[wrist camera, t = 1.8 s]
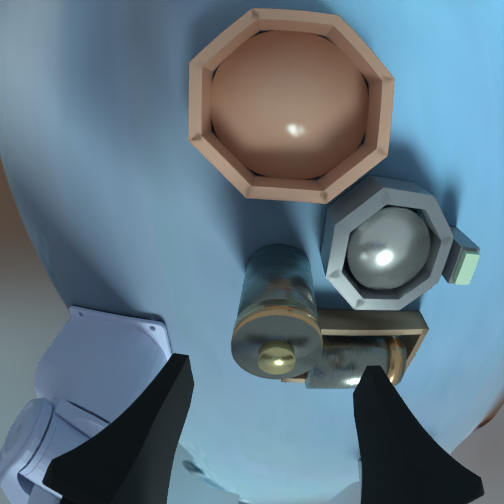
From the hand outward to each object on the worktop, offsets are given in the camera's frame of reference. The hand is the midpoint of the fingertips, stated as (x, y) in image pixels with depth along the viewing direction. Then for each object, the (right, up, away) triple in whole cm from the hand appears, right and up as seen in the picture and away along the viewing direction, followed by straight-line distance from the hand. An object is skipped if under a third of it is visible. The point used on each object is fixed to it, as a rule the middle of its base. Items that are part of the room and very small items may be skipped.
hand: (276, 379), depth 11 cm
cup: (+1, +13, +2) cm, 13 cm away
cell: (+1, +4, +7) cm, 8 cm away
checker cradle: (+7, +6, +5) cm, 10 cm away
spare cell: (+6, -2, +9) cm, 11 cm away
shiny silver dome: (+7, +5, +4) cm, 10 cm away
